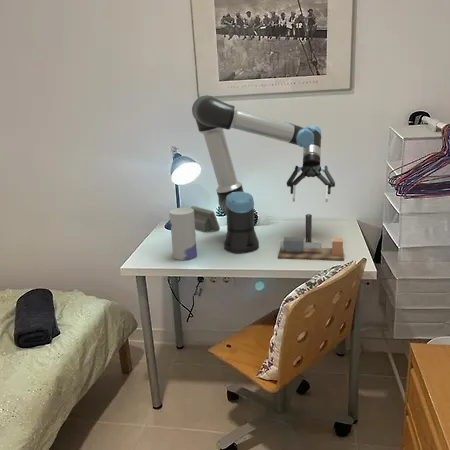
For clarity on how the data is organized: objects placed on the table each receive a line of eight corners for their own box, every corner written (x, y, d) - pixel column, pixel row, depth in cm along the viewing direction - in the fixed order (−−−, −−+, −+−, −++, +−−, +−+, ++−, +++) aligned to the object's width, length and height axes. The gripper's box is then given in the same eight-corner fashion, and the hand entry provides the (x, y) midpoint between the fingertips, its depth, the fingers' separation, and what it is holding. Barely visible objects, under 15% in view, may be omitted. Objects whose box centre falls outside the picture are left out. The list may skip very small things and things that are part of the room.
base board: (277, 258, 204) (277, 256, 204) (280, 248, 214) (280, 246, 214) (343, 260, 199) (343, 258, 199) (343, 250, 209) (343, 248, 209)
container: (175, 251, 217) (172, 207, 211) (198, 251, 216) (195, 206, 210) (171, 260, 208) (167, 214, 201) (194, 260, 206) (191, 213, 200)
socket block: (332, 255, 202) (332, 241, 200) (332, 250, 207) (332, 237, 205) (342, 255, 201) (342, 241, 200) (342, 251, 206) (342, 237, 204)
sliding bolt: (280, 247, 207) (279, 215, 203) (280, 245, 209) (280, 213, 205) (321, 248, 204) (322, 216, 199) (321, 246, 206) (322, 214, 202)
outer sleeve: (283, 253, 207) (283, 240, 205) (284, 249, 210) (284, 237, 209) (303, 254, 205) (303, 241, 203) (303, 250, 209) (303, 237, 207)
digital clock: (221, 231, 241) (220, 209, 237) (205, 235, 236) (203, 213, 233) (205, 222, 254) (203, 202, 250) (189, 226, 249) (187, 205, 246)
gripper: (340, 162, 221) (340, 204, 211) (283, 162, 226) (280, 204, 216) (341, 152, 214) (340, 196, 205) (282, 153, 219) (279, 195, 210)
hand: (310, 200), depth 210 cm, fingers open, 13 cm apart
